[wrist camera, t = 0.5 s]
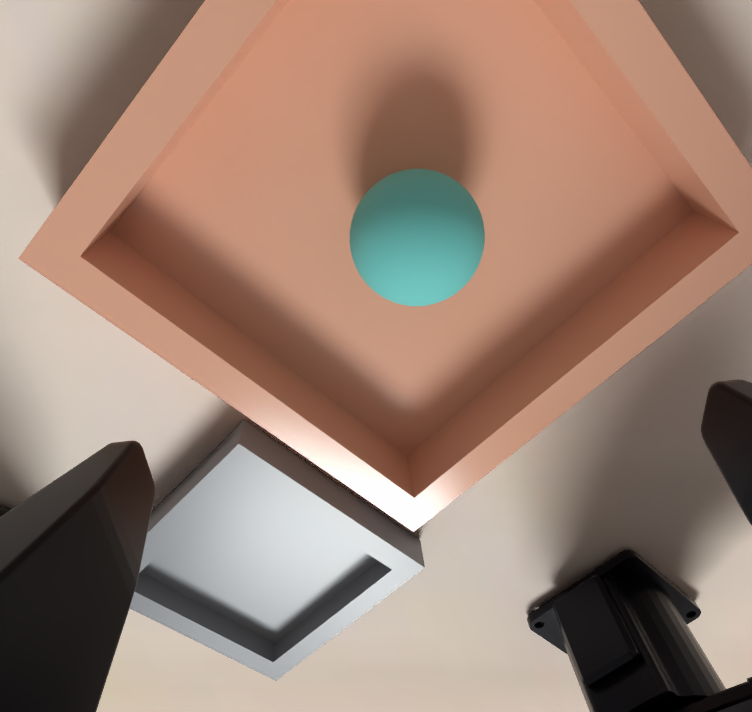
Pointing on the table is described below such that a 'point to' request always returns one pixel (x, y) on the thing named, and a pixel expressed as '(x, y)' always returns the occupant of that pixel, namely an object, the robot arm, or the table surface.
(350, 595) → the tray
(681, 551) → the table surface
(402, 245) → the ball
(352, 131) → the dish
